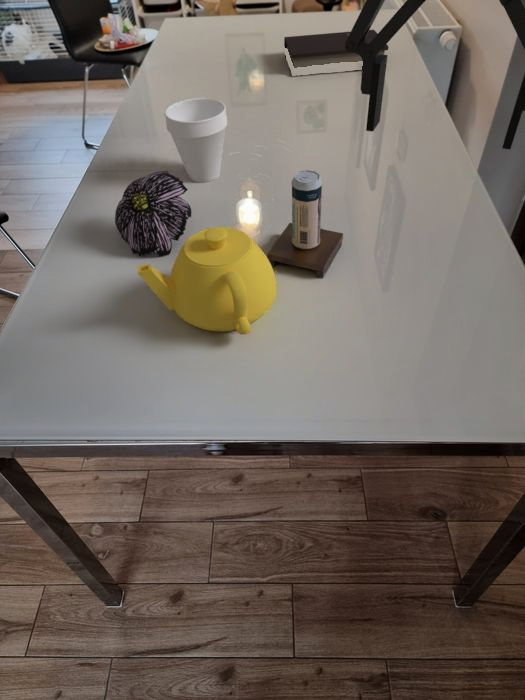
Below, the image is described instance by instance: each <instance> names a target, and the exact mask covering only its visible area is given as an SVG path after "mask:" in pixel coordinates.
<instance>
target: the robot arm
mask: <svg viewBox="0 0 525 700" xmlns="http://www.w3.org/2000/svg"><path fill="white" fill-rule="evenodd" d="M385 1H386V0H366V1H365V2H364V4H363V6H362V9H361V10H360V12H359V15H358V16H357V18H356V21H355V22H354V25H353V27H352V29H351V30H350V31H349V32H350V34H349V36H348V38H347V40H346V42H345V48H346V50H347V51H348V52H354V53H356V54H358V55H360V56H361V58H362V61H363V66H362V71H361V77H360V78H361V79H360V92H361V94H362V95H367V96H368V95H369V96H368V97H369V98H368V107H367V117H366V128H365V131H367V132H374V131H375V129H376V128H377V126H378V125H379V124H380V122H381V115H382V105H383V104H382V103H383V97H384V90H385V89H384V88H385V81H386V71H387V63H388V54H384V55H382V54H380V55H379V52H380V50H381V49H382V48H383V47H384V46H385V45H386V44H387V45H388V43H389V42H390V41H391V40H392V39H393V37H395V36H396V34H397V33H398V32H399V31H400V30H401V28H402V27H404V26H405V24H406V23H407V22H408V21H409V20H410V19H411V18H412V17H413V15H414V14H415V13H416V12H417V11H418V10H419V9H420V7H421V6H423V4H424V3H425V2H426V1H427V0H406V1H405V2H404V3H403V4H402V6H400V7H399V9H398V10H396V12H395V14H394V15H393V16H392V17H391V18H390V19H389V20H388V21H387V23H386V24H385V25H384V26H383V27H382V28H381V29H380V31H379V32H378V33H377V35H376V36H375V38H374V39H373V40H371V39H369V38H367V37H366V35H367V33H368V31H369V30H371V28H372V26H373V23H374V22H375V20H376V18H377V16H378V15H379V12H380V10H381V9H382V7H383V5H384V4H385ZM498 1H499V3H500V5H501V6H502V7H503V9H504V11H505V13H506V14H507V17H508V19H509V21H510V23H511V25H512V27H513V29H514V31H515V33H516V35H517V37H518V39H519V41H520V43H521V45H522V47H523V50H525V0H498ZM523 112H525V73H523V77H522V80H521V84H520V87H519V90H518V93H517V97H516V100H515V103H514V107H513V110H512V113H511V117H510V120H509V124H508V126H507V129H506V133H505V136H504V140H503V143H502V147H501V148H502V149H503V150H511V149H512V145H513V143H514V139H515V137H516V134H517V131H518V127H519V124H520V120H521V118H522V114H523Z"/></svg>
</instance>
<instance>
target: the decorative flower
mask: <svg viewBox="0 0 525 700" xmlns="http://www.w3.org/2000/svg"><path fill="white" fill-rule="evenodd" d="M188 190H189V189H188V188H187V187H186V186H185V184H184V181H183V180H180V178H179V177H176V176H175V175H174V174H171V173H170V172H169V170H168V171H167V170H160V171H155V172H153V173H149V174H148V175H146V176H143V177H139V178H137V179H135V180H133V181H132V182H130V183H129V184H128V186H127V187H126V188H125V190H124V191H123V194H122V196H121V199H120V200H119V202H118V204H117V206H116V209H115V213H114V223H115V227H116V230H117V232H118V233H119V235H120V237H121V239H123V241H125V243H127V244H129V247H130V250H131V252H132V255H138V256H139V257H142V256H143V257H144V256H146V255H150V254H153V255H157V257H158V258H161V257H165V256H168V255H170V254H171V252H172V248H173V243H172V240H173V241H179V239H180V237H181V236H183V235H184V234H185V233H184V232H185V231H186V226H187V222H188V220H189V218H192V207H191V205H190V204H189V203H188V202H187V201H186V200H185V199H183V198H182V197H181V196H182V195H184V194H185V193H186V192H187V191H188Z"/></svg>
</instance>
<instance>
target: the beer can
mask: <svg viewBox="0 0 525 700" xmlns="http://www.w3.org/2000/svg"><path fill="white" fill-rule="evenodd" d="M290 184H291V223H292V243H293V244H294V245H295V246H296V247H298V248H302V249H310V248H314V247H316V246H317V245H318V244H319V243H320V229H321V220H322V219H321V218H322V193H323V179H322V177H321V176H320V173H318V172H317V171H315V170H314V171H313V170H309V169H308V170H307V169H305V170H301V171H298V172H296V173H294V175H293V178H292V179H291V183H290Z"/></svg>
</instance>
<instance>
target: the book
mask: <svg viewBox="0 0 525 700" xmlns="http://www.w3.org/2000/svg"><path fill="white" fill-rule="evenodd" d="M350 32H351V31H340V32H330V33H329V32H328V33H318V34H307V35H306V34H305V35H293V36H284V39H283V46H284V47H285V48H287V49H288V52H289V55H290V58H291V61H292V63H293V66H294V68H297V67H307V66H312V65H324V64H330V63H340V62H358V61H362V58H361V56H360V55H358V54H356V53H354V52H348V51H347V50H346V48H345V42H346V40H347V38H348V36H349V34H350ZM377 34H378V33H377V31H376V30H375V29H369V31H368V33H367V35H366V37H367V38H369V39H371V40H373V39H374V38H375V36H376V35H377ZM284 47H283V48H284ZM385 51H389V45H388V43H387V44H386V45H385V46H384V47H383V48H382V49H381V50H380V52H379V55H380V54H382V55H385Z"/></svg>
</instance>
